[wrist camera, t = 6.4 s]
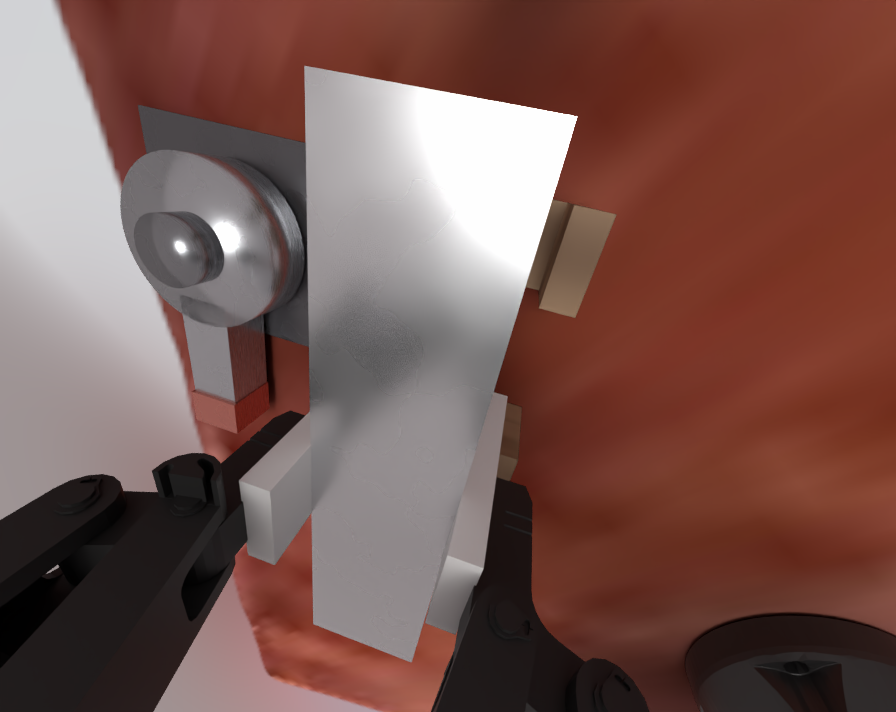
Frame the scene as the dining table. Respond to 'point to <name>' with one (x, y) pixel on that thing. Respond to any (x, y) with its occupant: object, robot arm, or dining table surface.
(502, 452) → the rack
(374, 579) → the steel bar
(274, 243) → the silver lever handle
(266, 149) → the base
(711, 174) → the dining table surface
